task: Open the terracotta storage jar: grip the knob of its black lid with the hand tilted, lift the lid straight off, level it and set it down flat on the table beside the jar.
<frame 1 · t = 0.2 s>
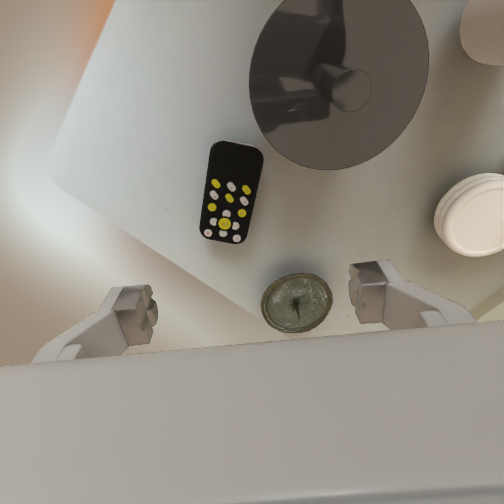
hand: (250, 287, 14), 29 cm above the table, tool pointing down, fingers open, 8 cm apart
lid: (295, 296, 51), on the table
remote control: (230, 191, 43), on the table
white short ribbed cylinder: (472, 209, 44), on the table
pill bottle: (499, 17, 34), on the table
jar lid: (335, 83, 27), point 10 cm above the table, touching jar
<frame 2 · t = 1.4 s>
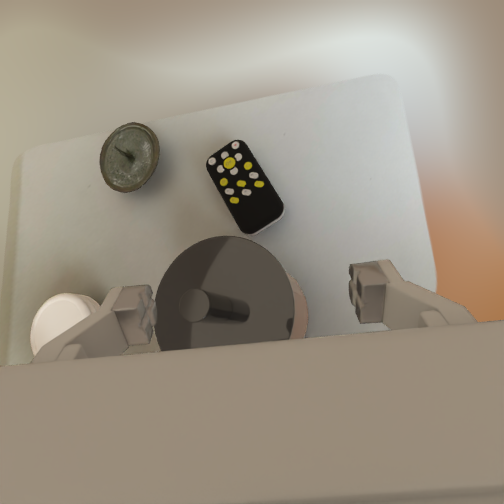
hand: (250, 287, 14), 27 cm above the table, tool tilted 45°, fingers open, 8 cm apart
lid: (136, 162, 52), on the table
remote control: (246, 189, 46), on the table
white short ribbed cylinder: (79, 330, 49), on the table
jar lid: (221, 309, 32), point 10 cm above the table, touching jar
jar: (255, 314, 41), on the table
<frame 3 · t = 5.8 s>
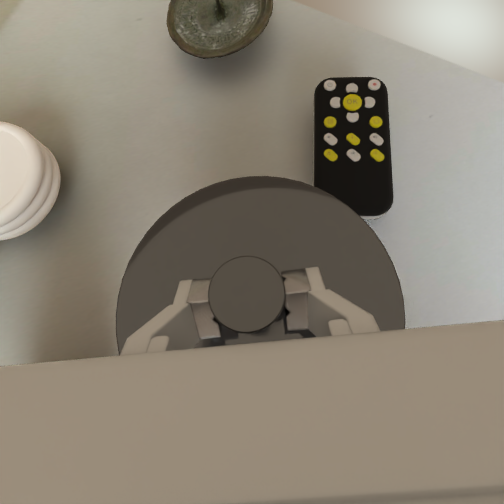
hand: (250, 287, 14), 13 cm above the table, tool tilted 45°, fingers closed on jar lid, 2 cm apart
lid: (221, 26, 35), on the table
remote control: (348, 152, 30), on the table
white short ribbed cylinder: (12, 190, 32), on the table
jar lid: (256, 308, 17), point 10 cm above the table, touching gripper, jar
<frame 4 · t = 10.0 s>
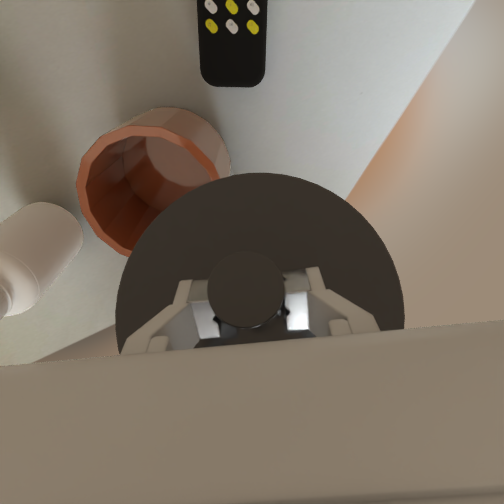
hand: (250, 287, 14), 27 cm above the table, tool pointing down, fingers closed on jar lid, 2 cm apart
remote control: (232, 9, 32), on the table
pill bottle: (53, 229, 43), on the table
jar lid: (256, 305, 17), point 25 cm above the table, tilted 45°, touching gripper
jar: (174, 167, 39), on the table
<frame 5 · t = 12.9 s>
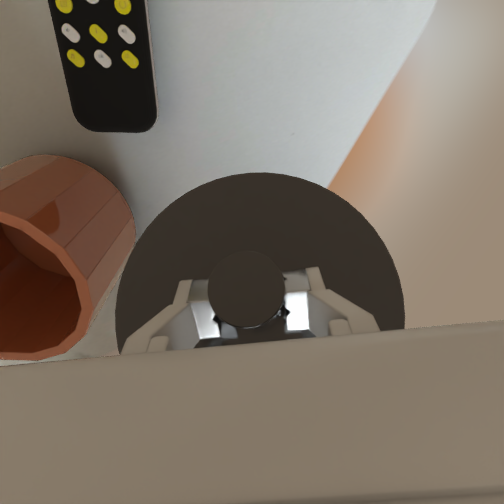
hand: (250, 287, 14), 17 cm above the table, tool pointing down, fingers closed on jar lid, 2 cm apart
remote control: (109, 35, 25), on the table
jar lid: (256, 305, 17), point 16 cm above the table, tilted 45°, touching gripper
jar: (66, 223, 32), on the table
when the fingers open (6 cm above the table, at t = 15.5 s): jar lid drops 4 cm, point 1 cm above the table.
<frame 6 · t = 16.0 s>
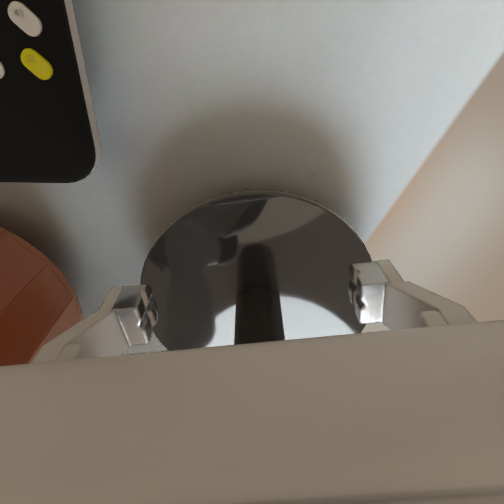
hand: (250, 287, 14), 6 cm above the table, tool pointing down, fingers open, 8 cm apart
remote control: (8, 22, 14), on the table
jar lid: (257, 297, 21), point 1 cm above the table
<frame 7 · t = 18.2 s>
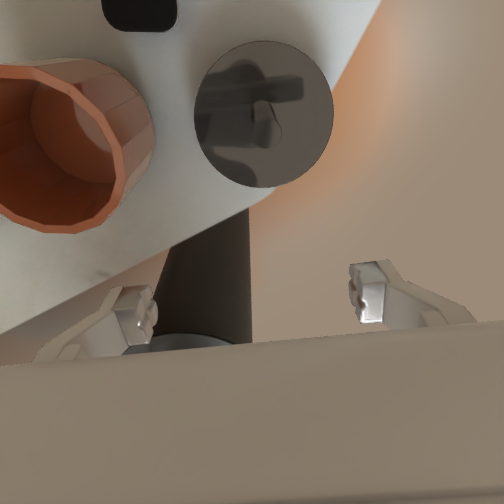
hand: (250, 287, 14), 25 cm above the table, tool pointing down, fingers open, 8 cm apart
jar lid: (263, 120, 34), point 1 cm above the table
jar: (91, 129, 35), on the table
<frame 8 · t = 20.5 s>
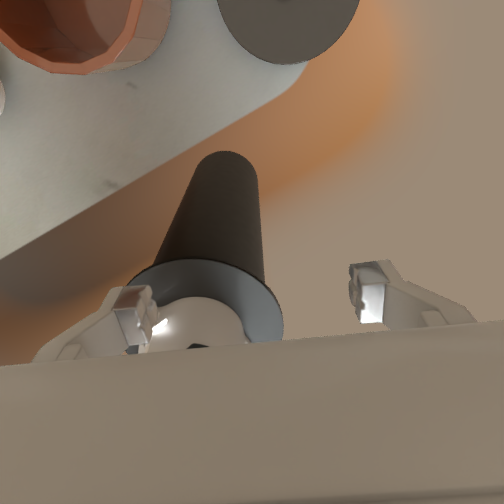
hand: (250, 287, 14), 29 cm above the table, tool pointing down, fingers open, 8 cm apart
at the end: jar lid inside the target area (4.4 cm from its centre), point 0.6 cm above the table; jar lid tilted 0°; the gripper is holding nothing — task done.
